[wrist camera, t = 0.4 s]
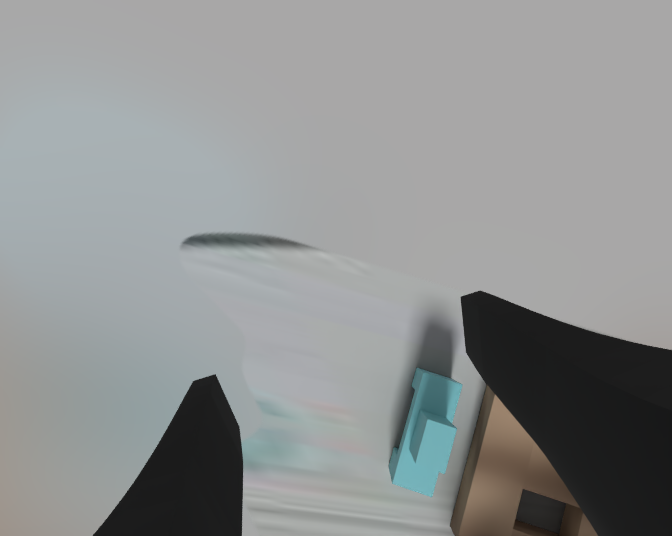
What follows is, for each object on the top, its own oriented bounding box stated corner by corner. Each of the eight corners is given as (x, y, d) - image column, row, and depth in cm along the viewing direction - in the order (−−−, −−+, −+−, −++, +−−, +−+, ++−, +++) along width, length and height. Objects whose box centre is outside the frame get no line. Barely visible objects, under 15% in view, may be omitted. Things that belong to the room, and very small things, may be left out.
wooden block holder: (494, 357, 36) (504, 359, 34) (638, 401, 35) (659, 407, 33) (450, 525, 35) (456, 540, 32) (599, 577, 34) (618, 597, 31)
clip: (416, 367, 37) (431, 377, 29) (451, 378, 36) (474, 391, 29) (388, 466, 36) (396, 502, 28) (423, 478, 35) (441, 518, 28)
